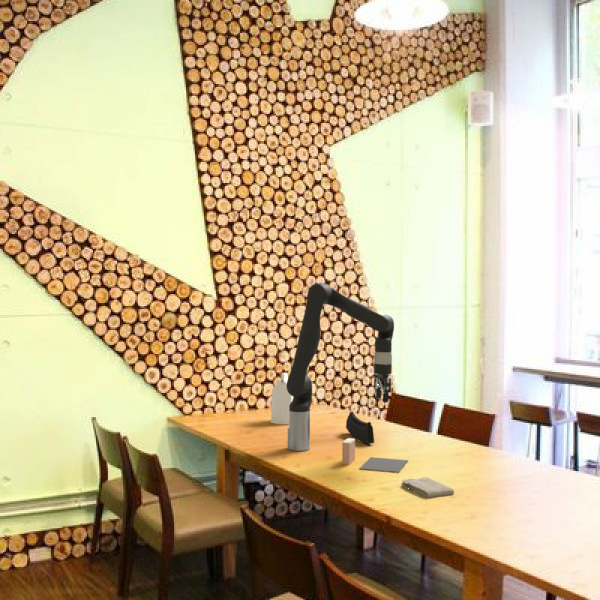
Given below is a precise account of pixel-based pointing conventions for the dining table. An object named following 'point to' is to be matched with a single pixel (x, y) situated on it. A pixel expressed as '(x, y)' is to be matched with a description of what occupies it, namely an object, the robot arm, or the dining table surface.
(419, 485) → the washcloth
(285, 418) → the milk
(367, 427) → the magazine
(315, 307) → the robot arm
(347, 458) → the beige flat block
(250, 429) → the dining table surface
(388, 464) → the mat
